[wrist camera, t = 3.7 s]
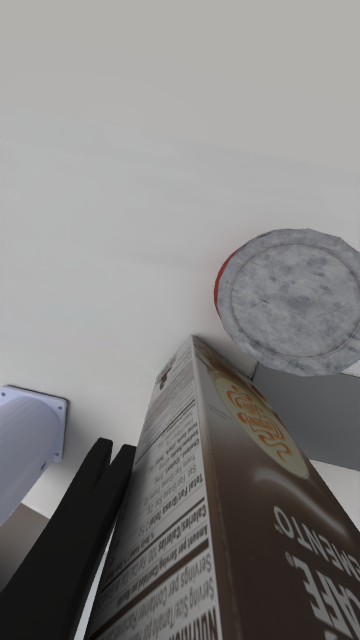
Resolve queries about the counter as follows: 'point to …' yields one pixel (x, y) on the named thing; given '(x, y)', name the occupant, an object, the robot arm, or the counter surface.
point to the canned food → (293, 301)
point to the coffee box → (224, 523)
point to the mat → (317, 412)
